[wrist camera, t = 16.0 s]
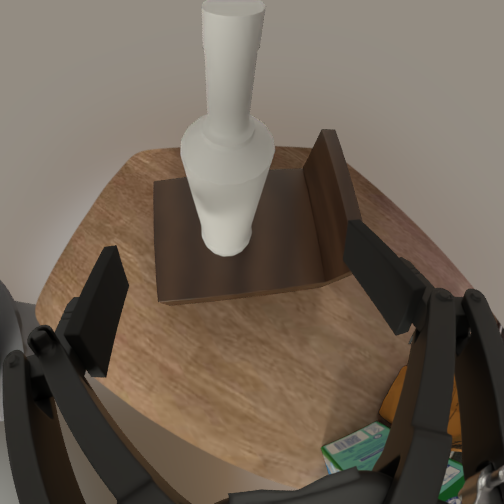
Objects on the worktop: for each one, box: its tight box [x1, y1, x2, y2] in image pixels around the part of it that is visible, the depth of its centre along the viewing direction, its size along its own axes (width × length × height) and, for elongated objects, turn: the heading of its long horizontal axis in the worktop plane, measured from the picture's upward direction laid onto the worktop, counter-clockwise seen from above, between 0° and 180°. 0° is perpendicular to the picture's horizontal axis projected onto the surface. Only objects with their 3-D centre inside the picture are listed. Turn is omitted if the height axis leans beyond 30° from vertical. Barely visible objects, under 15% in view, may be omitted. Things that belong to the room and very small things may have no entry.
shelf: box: [153, 129, 362, 305], centre depth 30 cm, size 20×14×14 cm
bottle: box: [181, 0, 275, 257], centre depth 18 cm, size 5×5×25 cm
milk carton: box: [321, 421, 465, 504], centre depth 18 cm, size 9×9×25 cm
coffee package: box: [379, 366, 462, 452], centre depth 22 cm, size 10×12×22 cm
